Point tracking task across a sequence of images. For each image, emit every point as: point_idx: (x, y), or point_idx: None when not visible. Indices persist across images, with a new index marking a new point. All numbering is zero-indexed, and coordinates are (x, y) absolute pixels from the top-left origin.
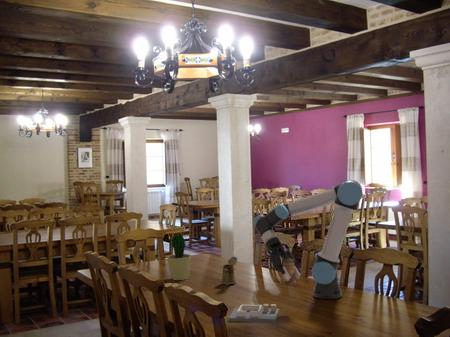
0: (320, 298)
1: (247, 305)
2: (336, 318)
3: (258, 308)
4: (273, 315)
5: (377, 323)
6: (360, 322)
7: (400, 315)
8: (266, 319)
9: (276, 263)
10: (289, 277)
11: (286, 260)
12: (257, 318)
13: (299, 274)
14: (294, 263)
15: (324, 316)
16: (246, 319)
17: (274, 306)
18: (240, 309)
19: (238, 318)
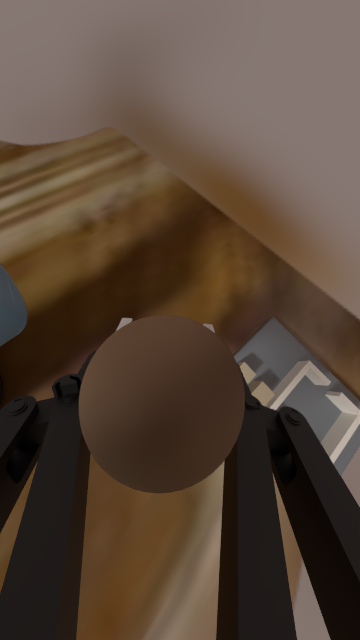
0: (1, 390)
1: None
2: (139, 243)
3: None
4: (260, 343)
5: (107, 175)
6: (125, 198)
7: (26, 167)
8: (290, 334)
9: (313, 444)
10: (212, 325)
11: (217, 370)
12: (308, 354)
13: (127, 320)
14: (81, 379)
15: (147, 269)
16: (331, 376)
17: (246, 364)
18: (343, 431)
19: (352, 394)
